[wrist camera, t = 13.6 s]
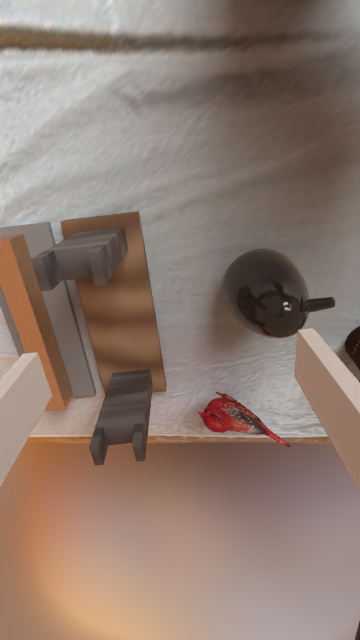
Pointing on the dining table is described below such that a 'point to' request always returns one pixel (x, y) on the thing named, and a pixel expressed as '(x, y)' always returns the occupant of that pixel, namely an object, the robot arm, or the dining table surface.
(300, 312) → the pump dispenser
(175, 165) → the dining table surface
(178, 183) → the dining table surface
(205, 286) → the dining table surface
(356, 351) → the coffee mug
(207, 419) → the decorative bird figurine
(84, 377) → the rubber mat
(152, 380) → the rail stand
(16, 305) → the copper rail
